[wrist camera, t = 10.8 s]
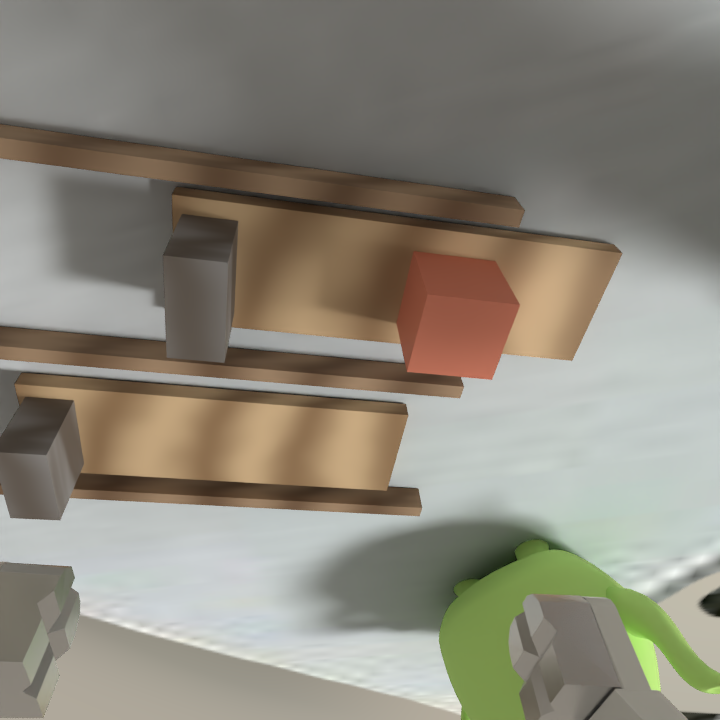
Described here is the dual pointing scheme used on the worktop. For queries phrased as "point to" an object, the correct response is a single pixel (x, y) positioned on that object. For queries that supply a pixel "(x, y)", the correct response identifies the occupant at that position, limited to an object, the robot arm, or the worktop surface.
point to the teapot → (504, 601)
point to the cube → (455, 316)
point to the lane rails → (237, 361)
